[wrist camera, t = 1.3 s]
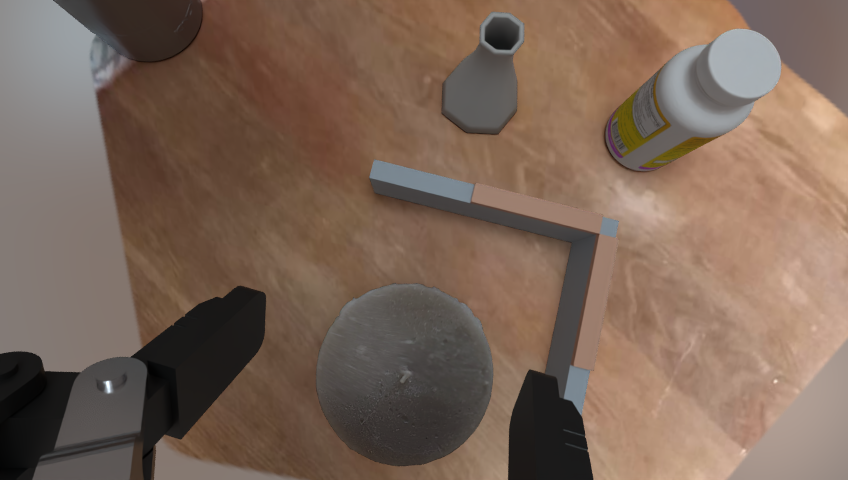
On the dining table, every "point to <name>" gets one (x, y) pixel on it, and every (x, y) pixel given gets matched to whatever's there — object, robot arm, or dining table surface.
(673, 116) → the supplement bottle
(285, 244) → the dining table surface
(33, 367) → the robot arm
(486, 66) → the flask
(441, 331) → the pillar candle
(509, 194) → the corner arena
